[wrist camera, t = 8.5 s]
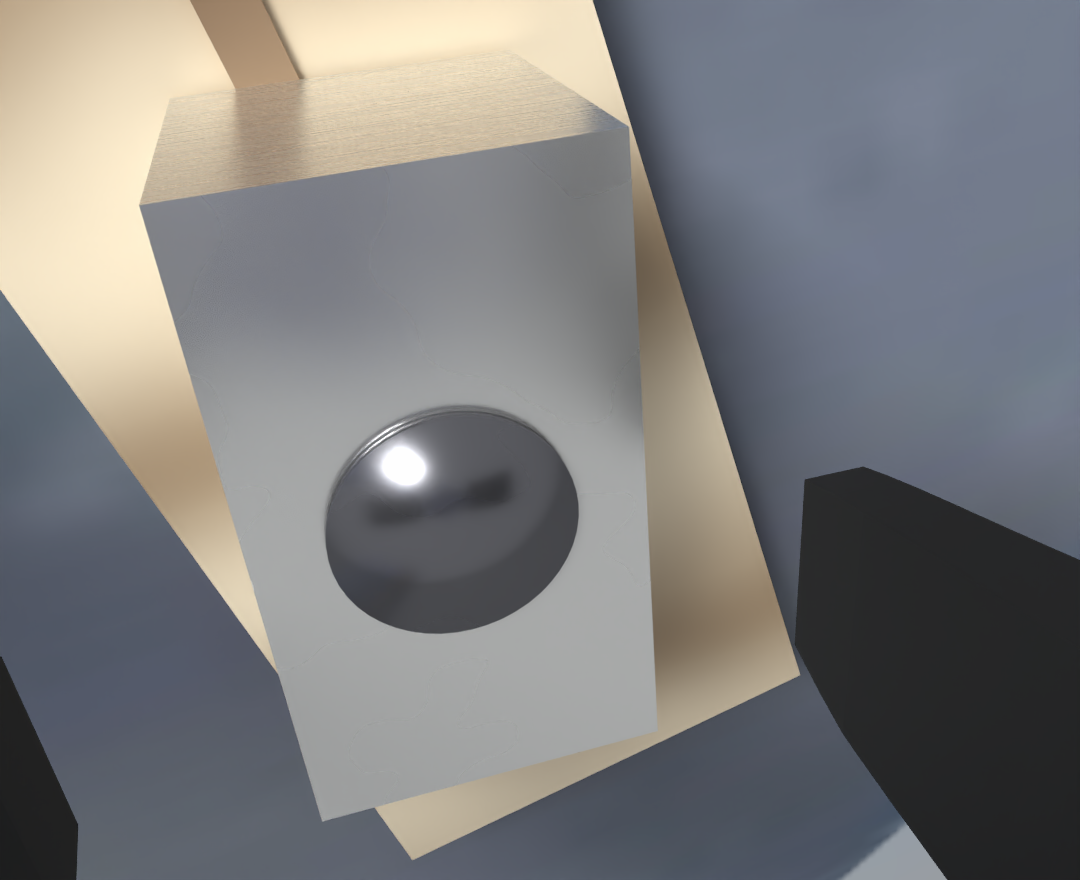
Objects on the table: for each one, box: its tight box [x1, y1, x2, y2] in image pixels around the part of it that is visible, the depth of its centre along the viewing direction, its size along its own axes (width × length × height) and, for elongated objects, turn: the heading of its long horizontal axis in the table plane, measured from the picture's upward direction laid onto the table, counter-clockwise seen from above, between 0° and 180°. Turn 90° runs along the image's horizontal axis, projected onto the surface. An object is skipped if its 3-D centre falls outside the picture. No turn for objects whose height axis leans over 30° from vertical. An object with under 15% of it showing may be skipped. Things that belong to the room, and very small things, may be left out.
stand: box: [0, 0, 800, 860], centre depth 17 cm, size 22×9×3 cm, turn 20°
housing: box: [139, 50, 658, 821], centre depth 13 cm, size 4×8×5 cm, turn 5°
